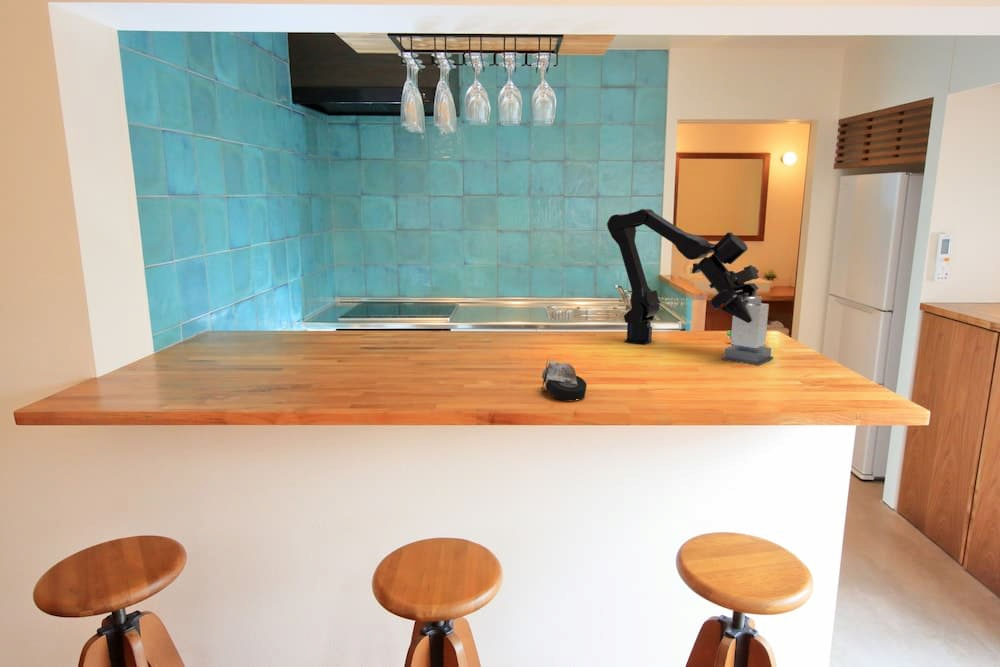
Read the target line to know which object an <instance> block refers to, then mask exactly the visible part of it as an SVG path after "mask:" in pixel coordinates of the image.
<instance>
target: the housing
mask: <svg viewBox="0 0 1000 667" xmlns="http://www.w3.org/2000/svg"><path fill="white" fill-rule="evenodd" d="M762 299H763V297H762V296H760V295H756V294H755V295H743V296H742V302H741V303H742V305H743V307H744V308H745V310H746V311H747V313H748V314H749V316H750V318H751V320H752V321H751V322H750V323H747V322H745V321H743V320H741V319H739V318H737V317H735V316H733V315H732V319H731V320H732V322H731V331H732V332H731V339H730V345H732V344H733V345H739V346H745V347H752V348H758V347H764V346H765V345H766V338H767V333H766V331H767V329H768V328H767V327H768V319H769V318H768V317H769V309H770V307H769V306H770V304H769V303H763V302H762ZM733 345H732V346H733Z"/></svg>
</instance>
